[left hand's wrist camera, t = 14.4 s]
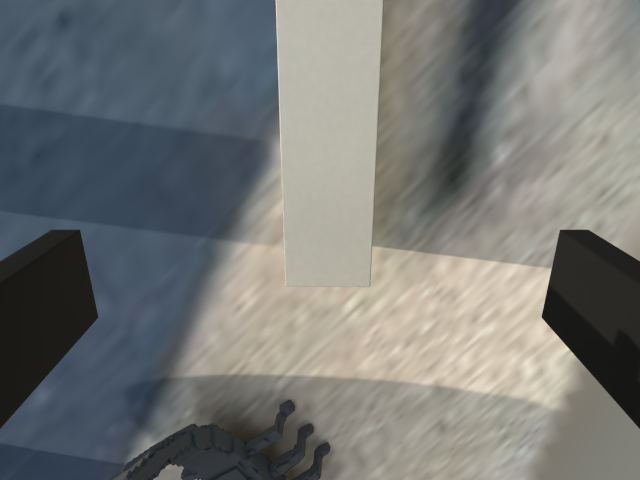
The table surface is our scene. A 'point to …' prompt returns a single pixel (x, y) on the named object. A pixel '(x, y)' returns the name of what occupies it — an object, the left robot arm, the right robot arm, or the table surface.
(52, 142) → the table surface
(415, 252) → the table surface
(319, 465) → the toy
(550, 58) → the table surface
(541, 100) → the table surface
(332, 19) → the bar
